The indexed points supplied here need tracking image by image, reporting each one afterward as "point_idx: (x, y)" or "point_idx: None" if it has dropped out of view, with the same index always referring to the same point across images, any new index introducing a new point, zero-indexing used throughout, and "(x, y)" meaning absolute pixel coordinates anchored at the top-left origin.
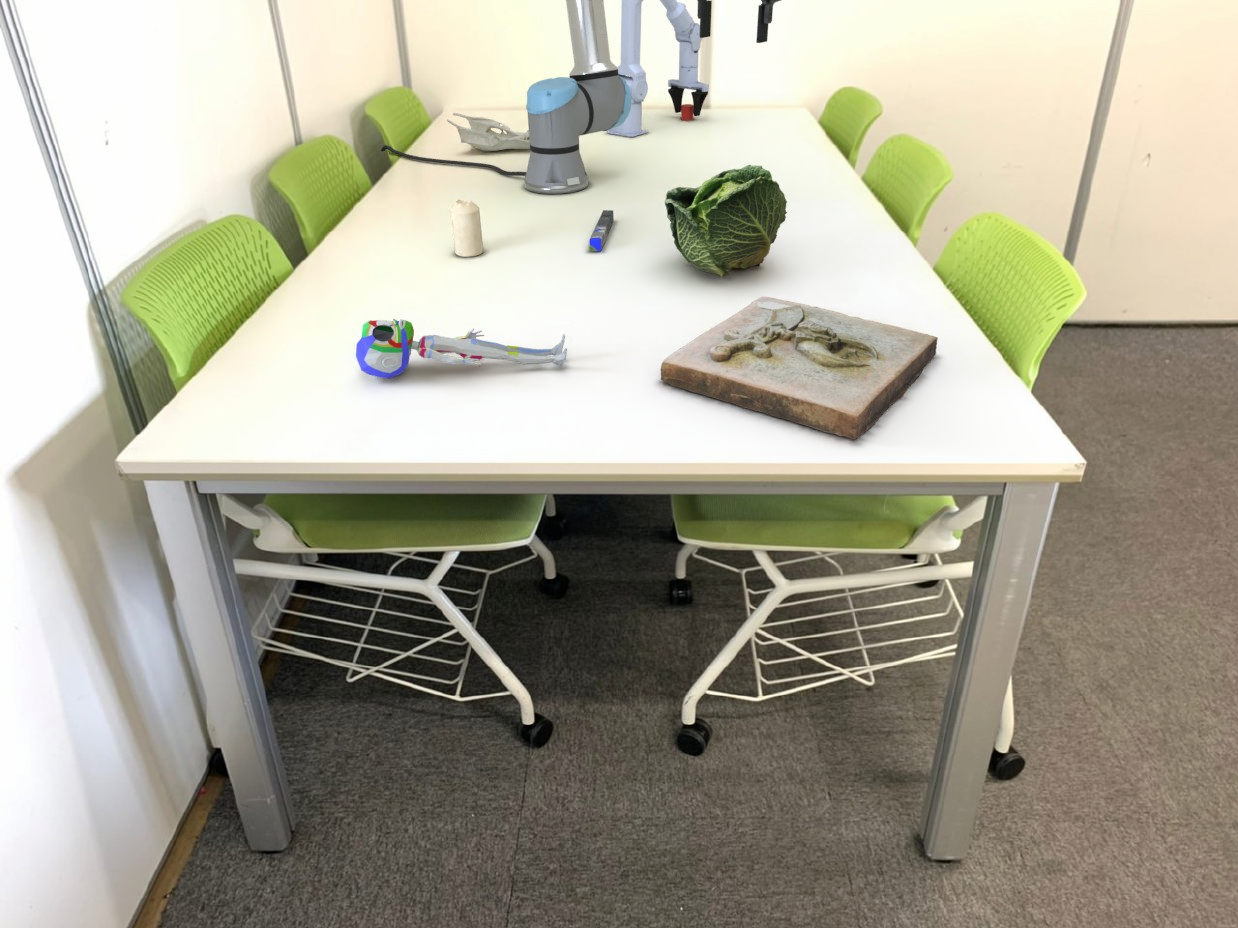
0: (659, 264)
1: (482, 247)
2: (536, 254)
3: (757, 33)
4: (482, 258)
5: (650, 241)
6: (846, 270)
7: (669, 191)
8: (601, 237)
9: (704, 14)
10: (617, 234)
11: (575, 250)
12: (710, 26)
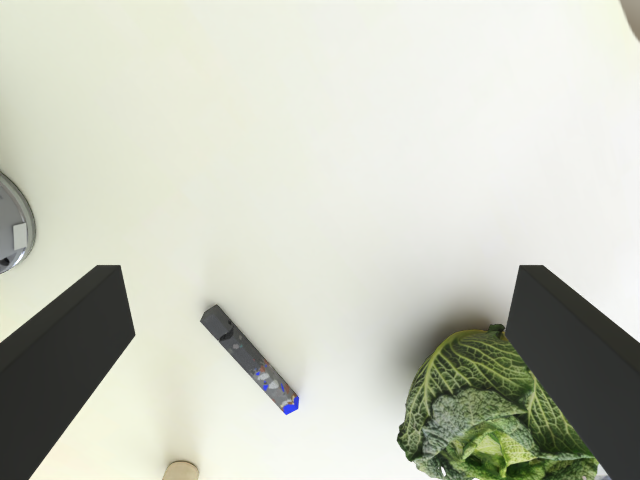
0: (385, 387)
1: (193, 472)
2: (243, 437)
3: (532, 366)
4: (208, 472)
5: (321, 335)
6: (612, 277)
7: (412, 460)
8: (291, 401)
9: (54, 429)
10: (264, 339)
11: (268, 407)
12: (88, 298)
